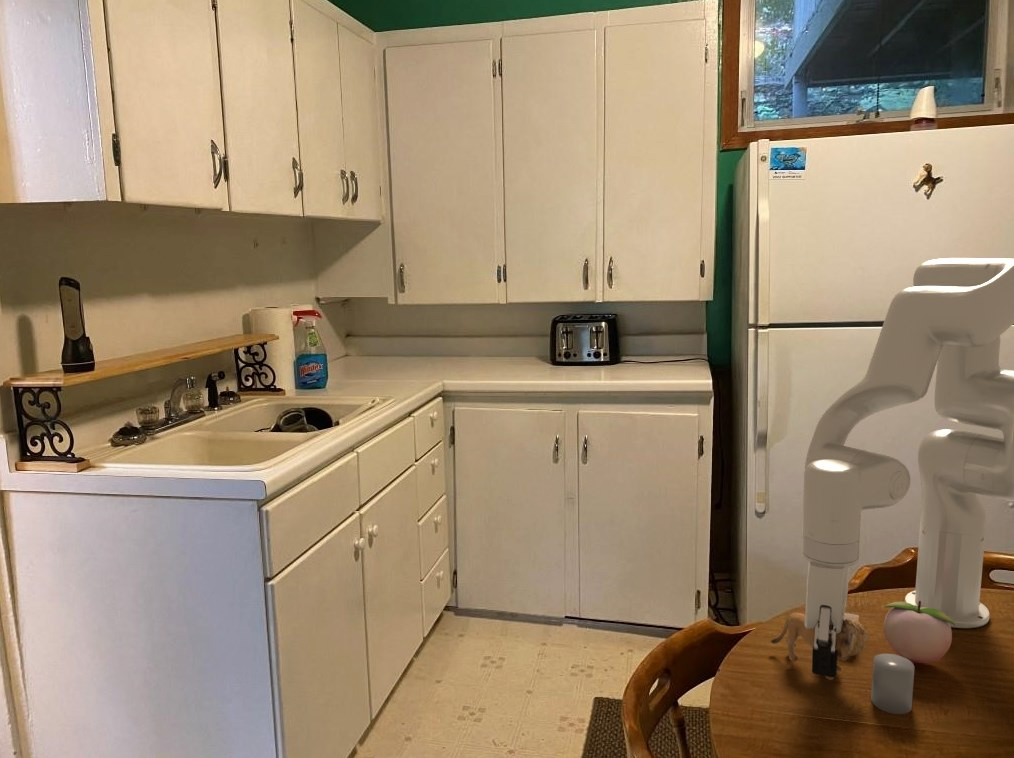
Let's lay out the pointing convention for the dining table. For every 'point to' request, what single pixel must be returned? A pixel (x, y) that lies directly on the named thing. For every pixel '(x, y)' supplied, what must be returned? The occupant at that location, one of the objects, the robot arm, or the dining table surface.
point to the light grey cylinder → (892, 683)
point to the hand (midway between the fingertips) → (826, 661)
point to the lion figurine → (846, 640)
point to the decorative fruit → (917, 632)
